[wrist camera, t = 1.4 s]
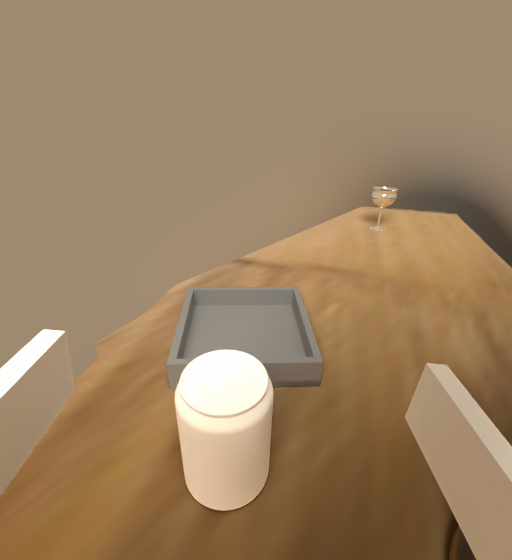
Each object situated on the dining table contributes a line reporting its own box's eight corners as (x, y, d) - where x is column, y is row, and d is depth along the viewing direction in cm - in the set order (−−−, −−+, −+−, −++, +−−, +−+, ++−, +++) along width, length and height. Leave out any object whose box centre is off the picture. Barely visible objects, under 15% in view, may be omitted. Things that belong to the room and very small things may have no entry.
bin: (296, 306, 58) (298, 287, 57) (319, 386, 42) (323, 362, 40) (190, 307, 57) (188, 287, 56) (169, 388, 41) (166, 364, 39)
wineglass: (363, 230, 97) (371, 189, 92) (367, 224, 103) (374, 185, 97) (387, 234, 95) (396, 192, 89) (390, 227, 100) (399, 187, 94)
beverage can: (226, 420, 37) (223, 334, 31) (284, 464, 32) (294, 374, 27) (167, 473, 31) (151, 381, 26) (228, 537, 27) (225, 442, 21)
